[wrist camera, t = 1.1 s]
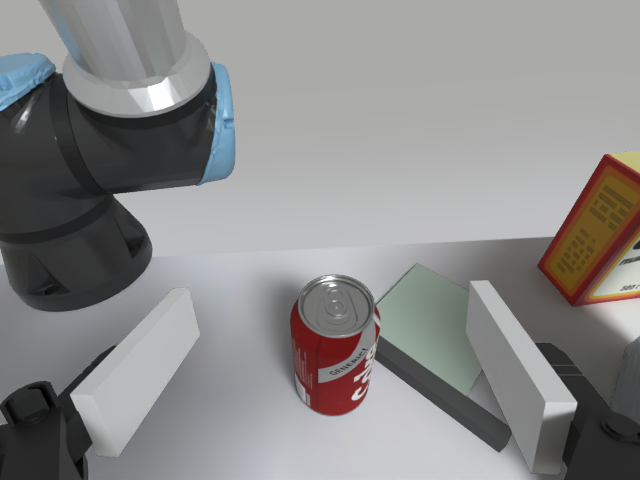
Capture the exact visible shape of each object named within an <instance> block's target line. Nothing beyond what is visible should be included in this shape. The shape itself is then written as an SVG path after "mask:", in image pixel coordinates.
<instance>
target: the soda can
mask: <svg viewBox="0 0 640 480" xmlns="http://www.w3.org/2000/svg"><path fill="white" fill-rule="evenodd" d="M290 324H291V335H292V346H293V358H294V369H295V380H296V387H297V391H298V394H299V396H300V398H301V399H302V401H303V402H304V403H305V404H306V406H308V407H309V408H310V409H311V410H313V411H314V412H316V413H318V414H321V415H325V416H341V415H345V414H348V413H350V412H352V411H353V410H355V409H356V408H357V407H358V406H359V405H360V404H361V403H362V401H363V400H364V398H365V396H366V394H367V390H368V386H369V381H370V376H371V371H372V366H373V362H374V357H375V352H376V347H377V342H378V337H379V332H380V326H381V320H380V314H379V311H378V309H377V307H376V305H375V303H374V299H373V296H372V294H371V292H370V291H369V290H368V288H367V287H366V286H365V285H364V284H362V283H361V282H359V281H358V280H356V279H354V278H351V277H348V276H344V275H326V276H322V277H319V278H316V279H314V280H312V281H311V282H309V283H308V284H307V285H306V286H305V287H304V288H303V290H302V291H301V293H300V296H299V299H298V300H297V301H296V303H295V304H294V306H293V309H292V312H291V318H290Z"/></svg>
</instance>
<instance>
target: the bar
mask: <svg viewBox="0 0 640 480" xmlns="http://www.w3.org/2000/svg"><path fill="white" fill-rule="evenodd" d="M374 359H376V360H377V361H378V362H380V363H381V364H382V365H384V366H385V367H386V368H388V369H389V370H390V371H391V372H393V373H394V374H395V375H397V376H398V377H399V378H401V379H402V380H403V381H405V382H406V383H407V384H409V385H410V386H411V387H413V388H414V389H415V390H417V391H418V392H419V393H421V394H422V395H423V396H425V397H426V398H427V399H429V400H430V401H431V402H433V403H434V404H435V405H437V406H438V407H439V408H441V409H442V410H443V411H445V412H446V413H447V414H448V415H450V416H451V417H452V418H454V419H455V420H456V421H458V422H459V423H460V424H462V425H463V426H464V427H466V428H467V429H468V430H470V431H471V432H472V433H474V434H475V435H476V436H478V437H479V438H480V439H482V440H483V441H484V442H486V443H487V444H488V445H490V446H491V447H492V448H494V449H495V450H496V451H498V452H500V451H501V450H502V449H504V448H505V447H506V445H507V443H508V441H509V439H510V436H511V434H512V431H511V429H510V427H509V426H508V425H506V424H505V423H503V422H502V421H501V420H499V419H498V418H496V417H495V416H494V415H492V414H491V413H489V412H488V411H486V410H485V409H484V408H482V407H481V406H479V405H478V404H477V403H475V402H474V401H472V400H471V399H469V398H468V397H467V396H465V395H464V394H462V393H461V392H460V391H458V390H457V389H455V388H454V387H452V386H451V385H450V384H448V383H447V382H445V381H444V380H443V379H441V378H440V377H438V376H437V375H435V374H434V373H433V372H431V371H430V370H428V369H427V368H426V367H424V366H423V365H421V364H420V363H418V362H417V361H416V360H414V359H413V358H411V357H410V356H409V355H407V354H406V353H404V352H403V351H401V350H400V349H399V348H397V347H396V346H394V345H393V344H392V343H390V342H389V341H387V340H386V339H385V338H383V337H382V336H380V335H379V337H378V342H377V347H376V352H375V357H374Z"/></svg>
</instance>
